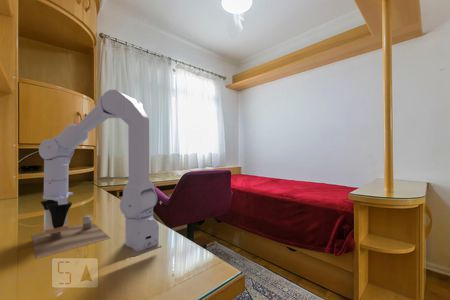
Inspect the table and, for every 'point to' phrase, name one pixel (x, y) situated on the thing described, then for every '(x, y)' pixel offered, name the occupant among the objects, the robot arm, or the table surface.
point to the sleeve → (49, 226)
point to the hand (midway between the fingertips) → (55, 225)
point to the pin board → (68, 238)
